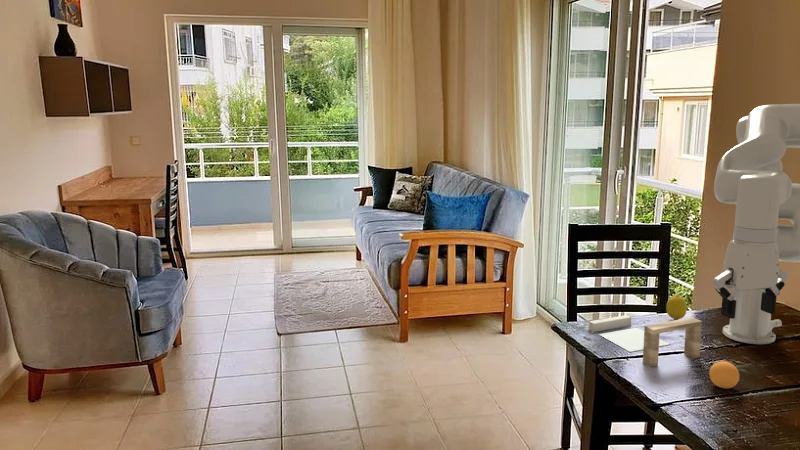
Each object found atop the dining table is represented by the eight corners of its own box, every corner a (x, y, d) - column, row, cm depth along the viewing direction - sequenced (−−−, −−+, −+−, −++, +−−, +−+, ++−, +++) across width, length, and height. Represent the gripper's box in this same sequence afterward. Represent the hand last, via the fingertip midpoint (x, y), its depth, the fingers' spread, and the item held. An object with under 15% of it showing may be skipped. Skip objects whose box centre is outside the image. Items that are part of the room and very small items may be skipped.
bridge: (642, 362, 149) (644, 325, 147) (690, 352, 153) (692, 317, 151) (651, 366, 146) (653, 329, 144) (699, 357, 150) (701, 321, 149)
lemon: (688, 324, 172) (690, 298, 171) (668, 323, 173) (669, 297, 172) (683, 317, 178) (685, 292, 176) (663, 316, 179) (665, 291, 177)
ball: (722, 379, 138) (724, 355, 137) (744, 390, 133) (746, 365, 132) (702, 383, 137) (704, 359, 135) (723, 395, 131) (725, 370, 130)
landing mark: (636, 328, 171) (636, 327, 171) (670, 344, 159) (670, 344, 158) (598, 335, 167) (598, 334, 167) (629, 352, 155) (629, 351, 155)
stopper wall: (626, 323, 175) (626, 315, 174) (630, 325, 173) (631, 317, 172) (588, 329, 171) (589, 321, 170) (593, 331, 169) (593, 323, 169)
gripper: (775, 228, 126) (768, 305, 129) (705, 234, 123) (699, 312, 126) (806, 235, 119) (797, 316, 122) (731, 241, 116) (725, 324, 119)
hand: (747, 314), depth 124 cm, fingers open, 9 cm apart
